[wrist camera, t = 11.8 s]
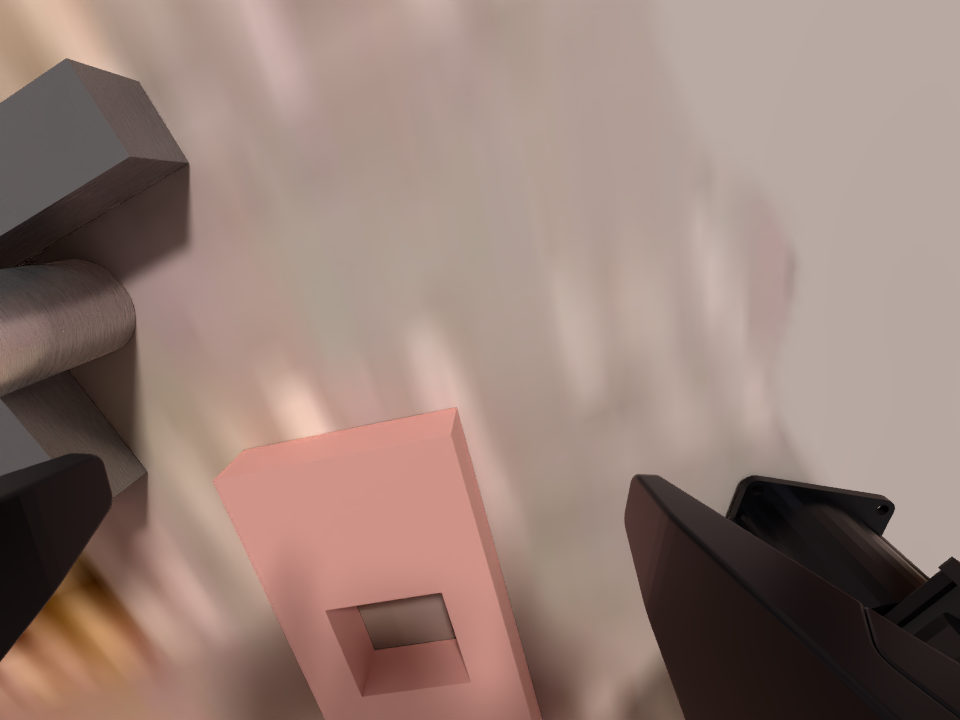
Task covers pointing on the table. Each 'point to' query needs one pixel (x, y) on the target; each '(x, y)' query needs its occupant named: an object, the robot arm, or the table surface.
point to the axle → (59, 319)
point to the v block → (71, 230)
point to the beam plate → (382, 568)
